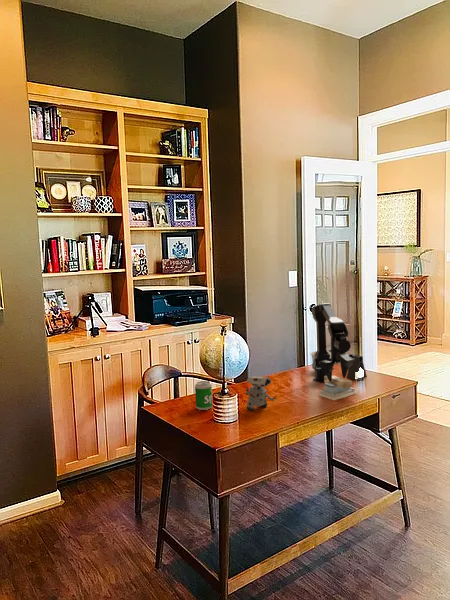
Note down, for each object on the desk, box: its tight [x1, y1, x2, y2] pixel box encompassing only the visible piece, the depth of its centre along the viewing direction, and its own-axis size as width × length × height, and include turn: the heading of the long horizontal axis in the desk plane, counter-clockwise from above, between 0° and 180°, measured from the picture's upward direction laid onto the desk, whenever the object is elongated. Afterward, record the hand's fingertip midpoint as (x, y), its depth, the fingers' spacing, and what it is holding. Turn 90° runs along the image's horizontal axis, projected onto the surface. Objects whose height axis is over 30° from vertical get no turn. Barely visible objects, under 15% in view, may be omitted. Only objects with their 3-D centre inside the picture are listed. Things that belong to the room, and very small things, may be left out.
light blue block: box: [323, 382, 350, 394], centre depth 236 cm, size 12×5×5 cm, turn 123°
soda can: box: [194, 380, 213, 411], centre depth 223 cm, size 8×8×12 cm
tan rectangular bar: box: [323, 374, 353, 389], centre depth 235 cm, size 14×4×3 cm, turn 33°
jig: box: [318, 386, 357, 401], centre depth 236 cm, size 15×10×2 cm, turn 123°
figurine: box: [245, 375, 277, 412], centre depth 219 cm, size 9×12×15 cm
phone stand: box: [346, 354, 368, 380], centre depth 263 cm, size 9×6×12 cm, turn 124°
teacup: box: [310, 350, 331, 362], centre depth 277 cm, size 12×15×10 cm
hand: (337, 379), depth 235 cm, fingers open, 9 cm apart
